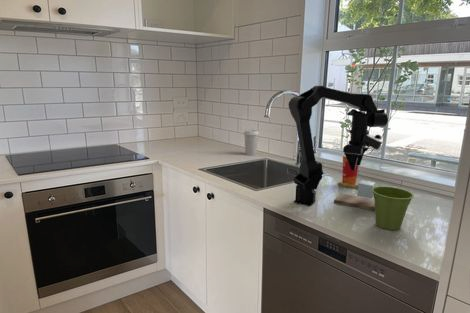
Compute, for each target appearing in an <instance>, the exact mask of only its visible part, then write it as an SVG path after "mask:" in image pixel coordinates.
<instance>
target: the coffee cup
mask: <svg viewBox="0 0 470 313" xmlns="http://www.w3.org/2000/svg"><path fill="white" fill-rule="evenodd" d="M259 134H260V133H259V130H258V129H245V130H244V132H243V136H244V147H245V148H244V149H245V155H247V156H256V155H257V149H258V142H259V141H258V140H259Z"/></svg>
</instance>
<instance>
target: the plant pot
mask: <svg viewBox="0 0 470 313" xmlns="http://www.w3.org/2000/svg"><path fill="white" fill-rule="evenodd" d="M378 186H379V187H378ZM378 186H375V187H374V188H372V192H373V193H374V196H373V199H375V211H374V213H375V214H374V216H375V225H377V227H379V228H381V229H388V230H389V231H397V230H400V229H401V227H402V225H403V221H404V218H405V216H406V212H407V210H408V207H409V205H410V204H411V201H412V199H413V198H415V194H414V193H412V192H411V191H410V190H407V189H403V188H400V187H395V186H382V185H378Z"/></svg>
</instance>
